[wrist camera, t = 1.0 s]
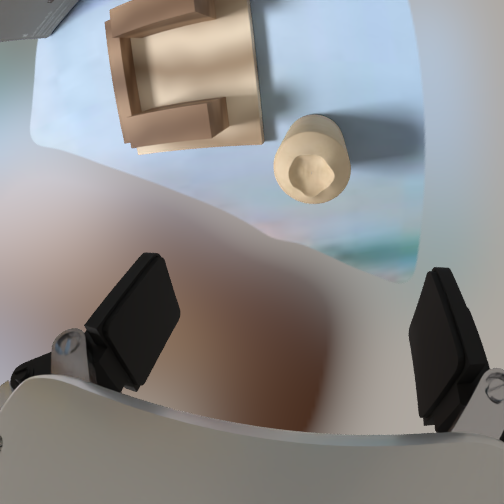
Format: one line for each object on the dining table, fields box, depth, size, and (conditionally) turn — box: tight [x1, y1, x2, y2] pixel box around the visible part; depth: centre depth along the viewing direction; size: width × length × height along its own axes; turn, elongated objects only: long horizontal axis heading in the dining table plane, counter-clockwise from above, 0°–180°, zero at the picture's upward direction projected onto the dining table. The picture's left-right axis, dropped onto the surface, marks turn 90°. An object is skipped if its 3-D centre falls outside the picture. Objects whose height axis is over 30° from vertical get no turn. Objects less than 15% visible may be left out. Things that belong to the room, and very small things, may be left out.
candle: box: [274, 115, 351, 204], centre depth 23 cm, size 6×6×10 cm
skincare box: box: [0, 0, 79, 42], centre depth 14 cm, size 8×7×16 cm
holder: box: [105, 0, 264, 155], centre depth 22 cm, size 18×14×6 cm
